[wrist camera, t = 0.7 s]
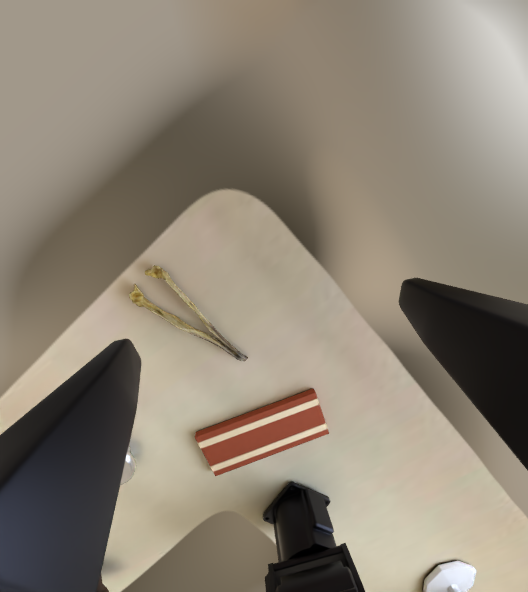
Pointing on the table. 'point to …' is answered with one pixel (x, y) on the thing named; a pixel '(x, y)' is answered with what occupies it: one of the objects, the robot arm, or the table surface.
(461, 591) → the wineglass
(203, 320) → the tongs
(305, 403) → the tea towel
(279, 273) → the table surface
